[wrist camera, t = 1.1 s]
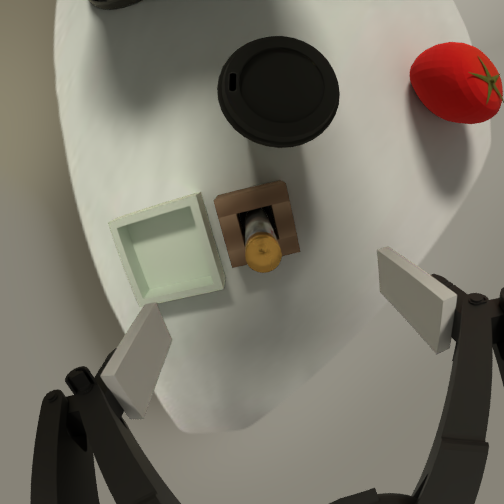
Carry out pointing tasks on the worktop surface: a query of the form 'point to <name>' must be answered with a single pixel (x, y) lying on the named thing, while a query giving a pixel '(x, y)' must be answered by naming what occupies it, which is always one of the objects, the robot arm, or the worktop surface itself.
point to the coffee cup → (278, 91)
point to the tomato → (457, 83)
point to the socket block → (249, 200)
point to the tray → (169, 251)
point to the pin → (261, 242)
